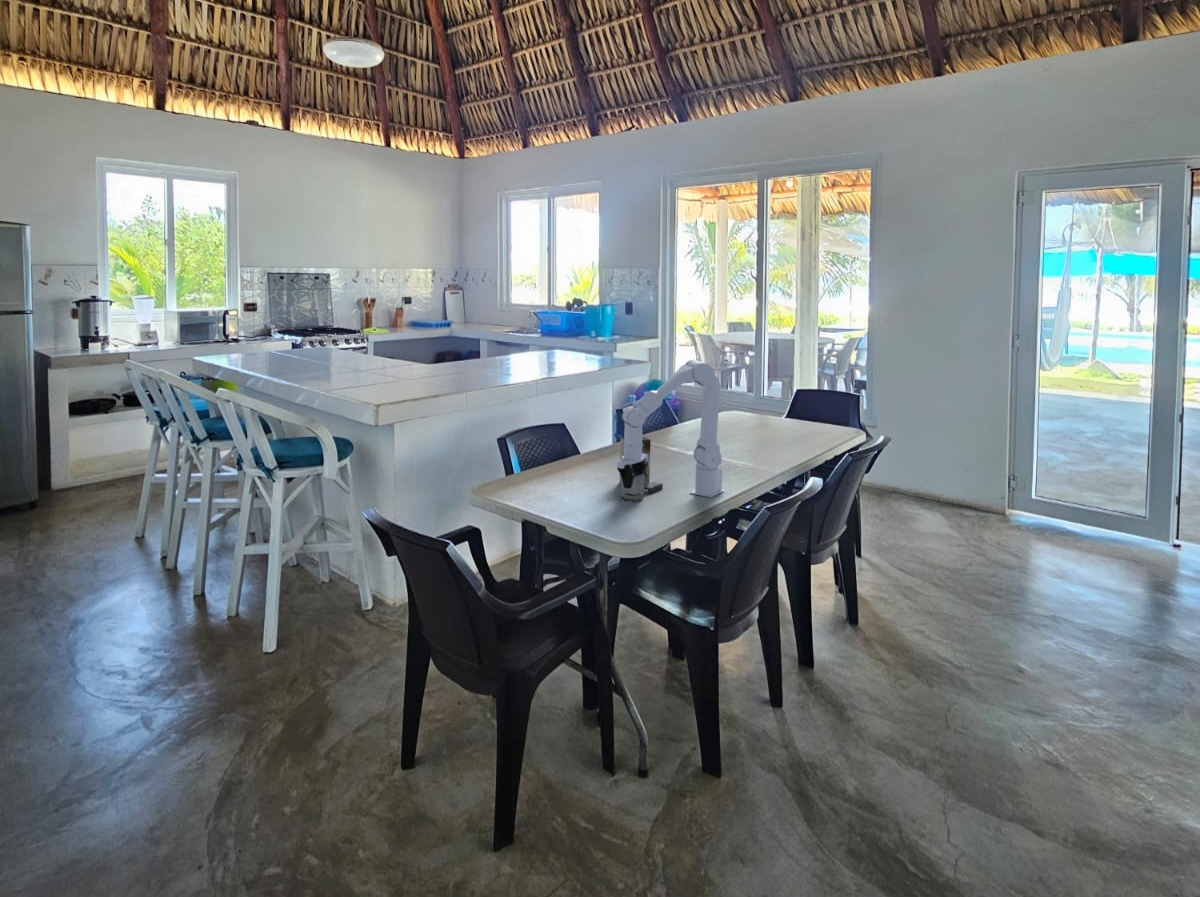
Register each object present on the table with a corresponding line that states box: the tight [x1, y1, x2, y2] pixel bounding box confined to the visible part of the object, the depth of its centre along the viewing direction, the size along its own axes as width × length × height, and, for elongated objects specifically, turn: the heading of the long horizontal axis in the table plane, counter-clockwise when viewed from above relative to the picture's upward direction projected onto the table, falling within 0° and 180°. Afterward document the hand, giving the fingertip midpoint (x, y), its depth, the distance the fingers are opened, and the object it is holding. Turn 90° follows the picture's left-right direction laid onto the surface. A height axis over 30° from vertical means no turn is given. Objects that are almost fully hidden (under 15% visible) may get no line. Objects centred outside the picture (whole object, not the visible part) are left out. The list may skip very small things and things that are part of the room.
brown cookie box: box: [619, 436, 652, 485], centre depth 266 cm, size 9×6×16 cm
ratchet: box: [620, 481, 664, 503], centre depth 256 cm, size 20×7×4 cm, turn 144°
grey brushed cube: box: [620, 471, 645, 495], centre depth 250 cm, size 5×5×6 cm
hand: (632, 485), depth 250 cm, fingers closed on grey brushed cube, 5 cm apart
